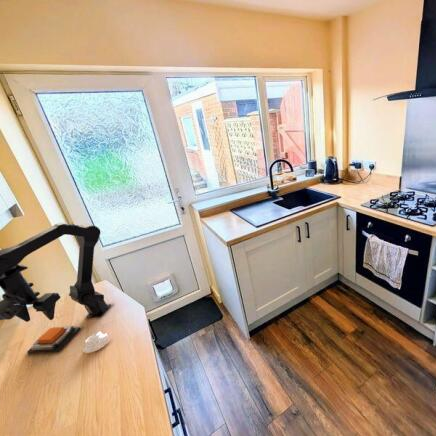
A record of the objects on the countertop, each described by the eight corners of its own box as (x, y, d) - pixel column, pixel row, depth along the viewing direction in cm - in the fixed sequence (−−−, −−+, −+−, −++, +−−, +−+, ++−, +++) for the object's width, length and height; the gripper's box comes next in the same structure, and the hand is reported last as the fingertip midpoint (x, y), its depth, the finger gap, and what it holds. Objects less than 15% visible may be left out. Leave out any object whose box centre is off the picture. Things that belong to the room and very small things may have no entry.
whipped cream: (88, 359, 86) (81, 351, 83) (81, 349, 89) (74, 341, 87) (113, 341, 91) (107, 333, 89) (105, 332, 95) (99, 324, 92)
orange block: (67, 332, 96) (63, 326, 94) (54, 345, 91) (50, 339, 89) (54, 333, 96) (50, 327, 95) (40, 345, 91) (36, 340, 90)
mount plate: (80, 329, 98) (77, 324, 97) (59, 351, 89) (55, 347, 88) (52, 330, 99) (49, 326, 98) (28, 353, 90) (24, 349, 88)
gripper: (-39, 306, 76) (-9, 341, 82) (17, 301, 75) (43, 337, 81) (0, 282, 86) (25, 315, 92) (50, 278, 85) (71, 311, 91)
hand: (40, 320), depth 89 cm, fingers open, 9 cm apart
